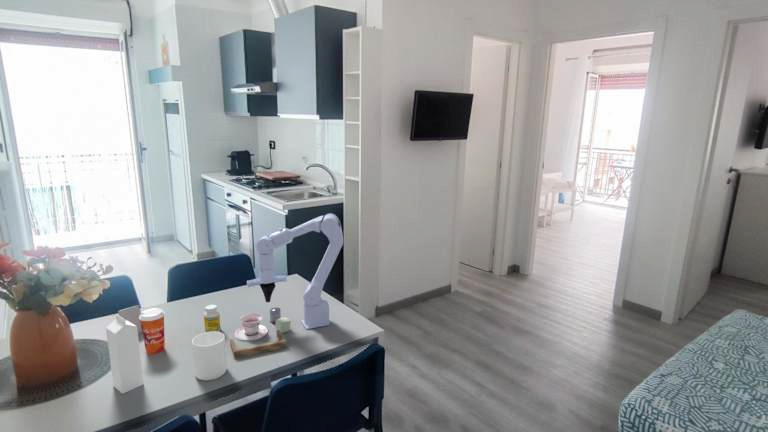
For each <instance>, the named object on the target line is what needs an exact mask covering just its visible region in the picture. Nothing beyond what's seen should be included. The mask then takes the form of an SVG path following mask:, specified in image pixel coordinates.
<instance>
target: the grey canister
mask: <svg viewBox="0 0 768 432" xmlns="http://www.w3.org/2000/svg"><path fill="white" fill-rule="evenodd" d="M269 316H270V317H269V319H270V320H269V321H270V324H275V325H276V322H275V320H276V319H279V318H282V317H281V316H282V315H281V307H272V308H270V309H269Z"/></svg>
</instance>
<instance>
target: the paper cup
mask: <svg viewBox="0 0 768 432" xmlns="http://www.w3.org/2000/svg"><path fill="white" fill-rule="evenodd" d="M140 312H141V315H140V317H139V319H140V321H141V327H142V332H141V333H142V337H143V341H144V347H145V353H146V354H148V355H157V354H160V353H162V352H163V351H165V346H166V345H165V315H166V312H165V311H164V310H163V309H162V308H160V307H159V308H158V307H154V308H153V307H152V308H148V309H145V310H143V311H140Z"/></svg>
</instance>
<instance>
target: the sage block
mask: <svg viewBox="0 0 768 432" xmlns="http://www.w3.org/2000/svg"><path fill="white" fill-rule="evenodd" d="M275 322H276V324H275V331H276V330H280V331H281V333H282V334H283V333H285V332H288V331H291V320H290V319H289V318H288V317H286V316H282V317H281V318H279V319H276V320H275Z"/></svg>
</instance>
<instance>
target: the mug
mask: <svg viewBox="0 0 768 432" xmlns="http://www.w3.org/2000/svg"><path fill="white" fill-rule="evenodd" d="M226 347H227V346H226V335H225V334H224V333H223V332H220V331H218V332H216V331H211V332H206V331H205V332H202V333H199V334H197V335H196V336H194V337H193V338H192V339H191V348H192V360H193V371H194V372H193V373H194V375H195V378H197V379H198V380H201V381H205V382H206V381H213V380H217V379H218V378H220V377H222V376H223V375H225V373H227V372H226V371H227V366H228V365H227V363H228V362H227V350H226Z"/></svg>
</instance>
